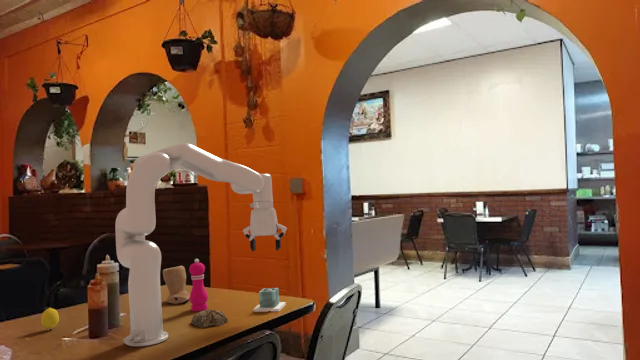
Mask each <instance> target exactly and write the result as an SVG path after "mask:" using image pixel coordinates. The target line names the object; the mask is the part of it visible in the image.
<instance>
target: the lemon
mask: <svg viewBox="0 0 640 360" xmlns="http://www.w3.org/2000/svg"><path fill="white" fill-rule="evenodd" d="M40 319H41V321H40V322H41V325H42V326H43V328H45V329H47V330H49V329H50V328H53V329H54V328H55V327H56V326H57V325H58V324H59V321H60V316H59V312H58V311H57V310H56V309H55V308H52V307H48V308H47V309H45V310H44V311H43V312H42V314H41V317H40Z"/></svg>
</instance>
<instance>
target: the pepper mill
mask: <svg viewBox="0 0 640 360" xmlns="http://www.w3.org/2000/svg"><path fill="white" fill-rule="evenodd" d="M188 270H189V273H190V274H191V276H190V277H191V278H190V279H191V281H192V287H191V290H190V292H191V293H190V297H189V299H188V301H189V302H190V304H191V306H190V309H191V311H192V312H201V311H204V310H207V309H208V303H207V302H208V300H209V294H208V292H207V290H206V288H205V287H206V286H205V285H204V279H205V274H204V273H205V272H206V271H205V270H206V266H205V264H203V263H202V262H200V260H199V259H198V258H195V259H194V262H193V263H192V264H190V265H189V268H188Z"/></svg>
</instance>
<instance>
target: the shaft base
mask: <svg viewBox="0 0 640 360" xmlns="http://www.w3.org/2000/svg"><path fill="white" fill-rule="evenodd" d="M266 291H272V289H267V290H266ZM286 305H287V302H286V301H279V304H278V305H277V306H276V307H270V308H260V303H259V304H257V305H256V306H255V307H254V308H253V309H252V311H253V312H254V313H256V312H257V313H258V312H259V313H261V312H262V313H263V312H264V313H265V312H268V311H271V312H280V311H281V310H282V309H283V308H284V307H286Z"/></svg>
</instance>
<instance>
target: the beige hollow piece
mask: <svg viewBox="0 0 640 360" xmlns="http://www.w3.org/2000/svg"><path fill="white" fill-rule="evenodd" d="M162 277H163V281H164V282H165V285H166V288H167V290H168V292H169V293H168V294H169V296H168V297H167V298H166V300H165V302H167V303H169V304H173V305H179V304H182V303H184V302H186V301H189V297H190V293H191V291H190V292H189V291H187V290H186V284H187V273H186V268H185V266H183V265H179V266H175V267H170V268H165V269H163V270H162Z"/></svg>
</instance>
